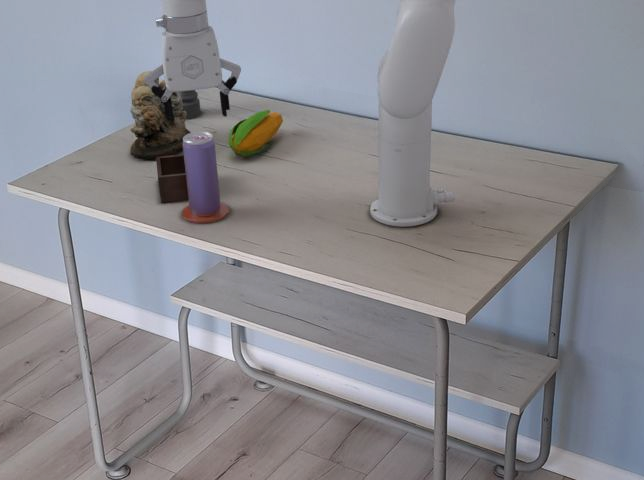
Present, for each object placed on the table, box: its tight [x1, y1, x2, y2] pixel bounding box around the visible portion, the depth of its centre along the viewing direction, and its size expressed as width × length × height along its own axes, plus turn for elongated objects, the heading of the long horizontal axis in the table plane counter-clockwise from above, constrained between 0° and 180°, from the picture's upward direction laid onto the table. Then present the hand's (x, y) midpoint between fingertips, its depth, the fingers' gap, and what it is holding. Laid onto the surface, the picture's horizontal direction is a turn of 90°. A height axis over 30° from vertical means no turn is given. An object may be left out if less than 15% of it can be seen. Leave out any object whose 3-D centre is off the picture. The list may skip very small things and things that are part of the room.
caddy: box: [155, 153, 189, 204], centre depth 206 cm, size 11×11×6 cm
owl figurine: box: [129, 70, 192, 161], centre depth 222 cm, size 18×12×17 cm, turn 155°
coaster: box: [181, 202, 230, 224], centre depth 198 cm, size 9×9×1 cm
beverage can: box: [182, 131, 221, 217], centre depth 193 cm, size 6×6×15 cm
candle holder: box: [180, 90, 202, 120], centre depth 236 cm, size 6×6×25 cm
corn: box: [227, 109, 284, 158], centre depth 223 cm, size 7×8×20 cm
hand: (198, 117), depth 187 cm, fingers open, 9 cm apart
